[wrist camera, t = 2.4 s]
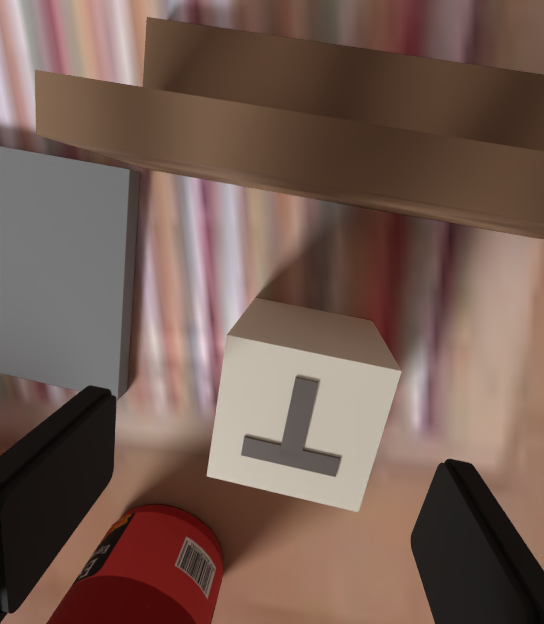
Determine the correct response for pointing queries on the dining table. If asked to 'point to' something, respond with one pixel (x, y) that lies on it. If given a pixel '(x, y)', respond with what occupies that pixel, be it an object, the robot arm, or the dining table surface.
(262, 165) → the walnut screen
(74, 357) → the slate mat
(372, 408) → the marked cube
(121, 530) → the canned food
